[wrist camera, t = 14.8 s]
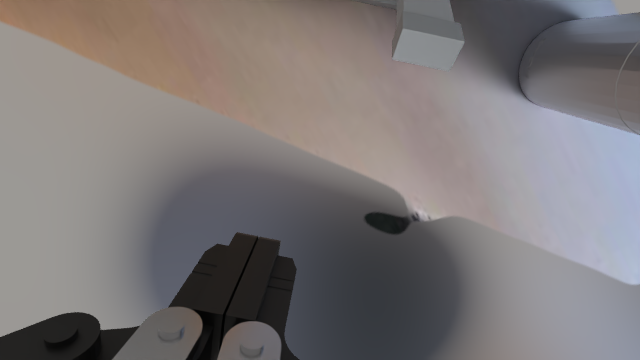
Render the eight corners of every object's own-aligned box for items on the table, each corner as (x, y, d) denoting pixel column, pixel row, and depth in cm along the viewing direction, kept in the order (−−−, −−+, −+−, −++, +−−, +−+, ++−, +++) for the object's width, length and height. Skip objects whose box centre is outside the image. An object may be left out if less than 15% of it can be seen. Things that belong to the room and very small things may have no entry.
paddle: (444, -44, 30) (464, 41, 21) (434, -18, 32) (449, 71, 22) (401, -54, 30) (402, 28, 21) (393, -27, 32) (392, 59, 22)
